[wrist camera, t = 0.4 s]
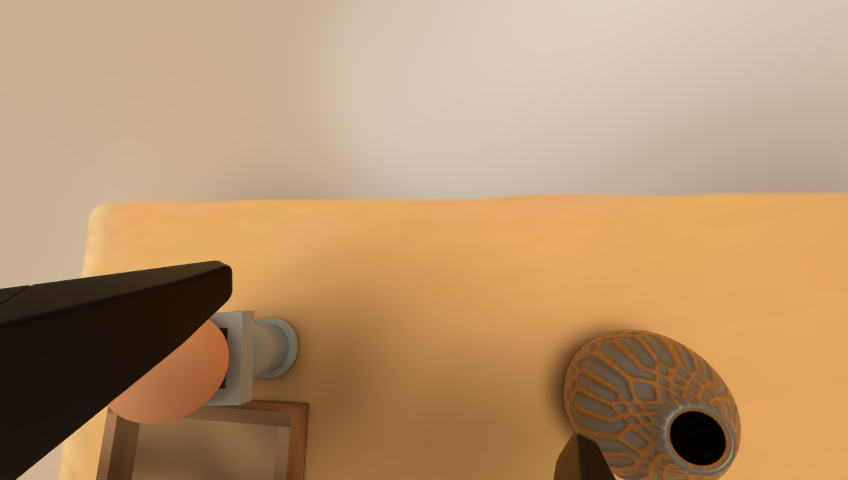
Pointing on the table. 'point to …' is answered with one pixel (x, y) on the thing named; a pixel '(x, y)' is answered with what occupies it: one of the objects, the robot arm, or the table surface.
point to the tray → (209, 444)
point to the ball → (178, 380)
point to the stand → (252, 353)
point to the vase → (652, 407)
